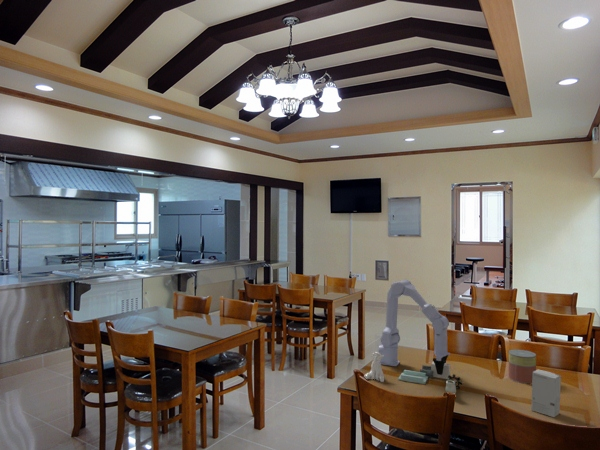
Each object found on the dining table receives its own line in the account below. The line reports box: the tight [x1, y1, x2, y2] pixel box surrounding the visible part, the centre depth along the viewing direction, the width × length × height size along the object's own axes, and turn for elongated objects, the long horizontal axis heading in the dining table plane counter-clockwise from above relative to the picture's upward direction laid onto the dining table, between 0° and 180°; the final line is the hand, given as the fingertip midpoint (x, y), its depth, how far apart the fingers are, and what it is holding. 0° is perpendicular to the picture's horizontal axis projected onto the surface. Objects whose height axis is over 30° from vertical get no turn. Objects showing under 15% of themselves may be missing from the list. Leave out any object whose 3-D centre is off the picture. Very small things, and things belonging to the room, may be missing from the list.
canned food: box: [508, 349, 537, 385], centre depth 189 cm, size 11×11×12 cm
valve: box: [445, 373, 463, 394], centre depth 173 cm, size 7×7×12 cm
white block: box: [430, 361, 451, 380], centre depth 193 cm, size 8×4×6 cm, turn 63°
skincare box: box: [530, 368, 562, 418], centre depth 156 cm, size 8×6×15 cm
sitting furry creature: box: [363, 351, 385, 383], centre depth 192 cm, size 10×9×12 cm
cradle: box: [397, 369, 429, 385], centre depth 190 cm, size 12×8×2 cm, turn 63°
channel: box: [419, 364, 434, 379], centre depth 196 cm, size 6×7×3 cm
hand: (441, 371), depth 193 cm, fingers open, 7 cm apart
